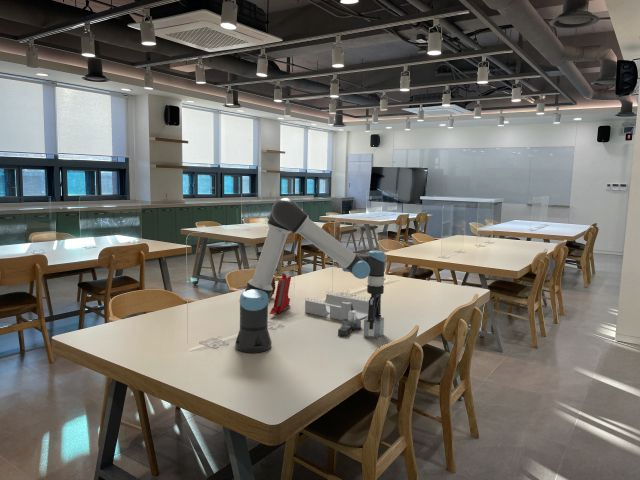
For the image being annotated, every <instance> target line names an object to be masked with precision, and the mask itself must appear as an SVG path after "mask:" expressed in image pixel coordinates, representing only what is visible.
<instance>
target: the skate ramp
mask: <svg viewBox="0 0 640 480" xmlns="http://www.w3.org/2000/svg"><path fill="white" fill-rule="evenodd" d="M332 293H333V291H326V297H325V300H324V301H323V302H322V300H319V301H317V300H316V299H313V298H310V299H309V297H307V296H306V297H305V298H304V299H305V301H304V303H305V304H304V313H306V314H307V313H308V314H311V315H315V316H321V317H324V318H328V319H329V318H330V319H334V320H338V321H341V322H343V320H344V319H348V311H350V310H353V311H356V319H358V320H360V321H361V320H364V319H365V318H366V317H367V316H368V309H369V300H370V298H367V299H366V297H365V296H356V297H355V295H353V294H352V295H350V297H349V296H348V294H345V295H344V293H339V294H337V292H336V293H335V292H334V293H333V294H332ZM360 297H361V298H360Z"/></svg>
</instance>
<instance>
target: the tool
mask: <svg viewBox="0 0 640 480" xmlns="http://www.w3.org/2000/svg"><path fill="white" fill-rule="evenodd" d="M281 275H282V276H281V278H280V279H278V280H277V287H276V290H275V291H276V292H275V296H274V297H275V298H274V302H273V307H271V310H270V312H269V315H275V314H276V313H277V314H281V313H282V312H285V311H286V310H287V309H289V308H290V307H291V305H290V302H291V298H290V297H289V290H290V285H291V280H292V276H291V275H289V276H287V274H286V273H284V272H283V273H282V274H281Z"/></svg>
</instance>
